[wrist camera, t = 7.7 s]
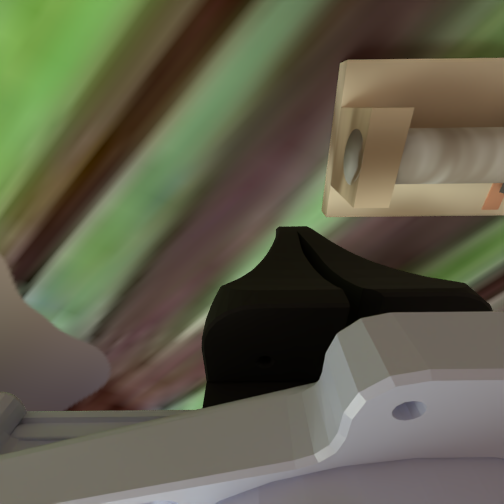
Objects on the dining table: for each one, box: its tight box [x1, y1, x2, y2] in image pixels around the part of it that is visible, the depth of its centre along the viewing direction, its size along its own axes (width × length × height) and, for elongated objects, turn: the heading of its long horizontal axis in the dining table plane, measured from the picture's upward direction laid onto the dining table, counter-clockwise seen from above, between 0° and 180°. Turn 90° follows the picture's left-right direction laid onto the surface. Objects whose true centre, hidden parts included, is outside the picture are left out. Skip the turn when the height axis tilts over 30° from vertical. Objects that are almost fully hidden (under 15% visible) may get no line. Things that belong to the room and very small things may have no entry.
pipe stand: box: [322, 58, 504, 217], centre depth 16 cm, size 10×18×7 cm, turn 91°
